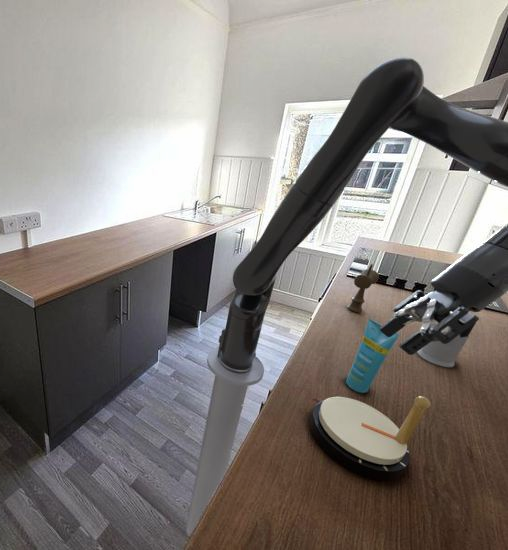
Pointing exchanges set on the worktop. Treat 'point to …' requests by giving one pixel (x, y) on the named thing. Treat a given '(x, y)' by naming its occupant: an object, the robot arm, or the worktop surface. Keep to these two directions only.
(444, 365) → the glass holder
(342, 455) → the dial base
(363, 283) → the kendama
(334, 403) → the wheel
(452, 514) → the worktop surface
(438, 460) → the worktop surface
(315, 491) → the worktop surface
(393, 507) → the worktop surface
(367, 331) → the tube
